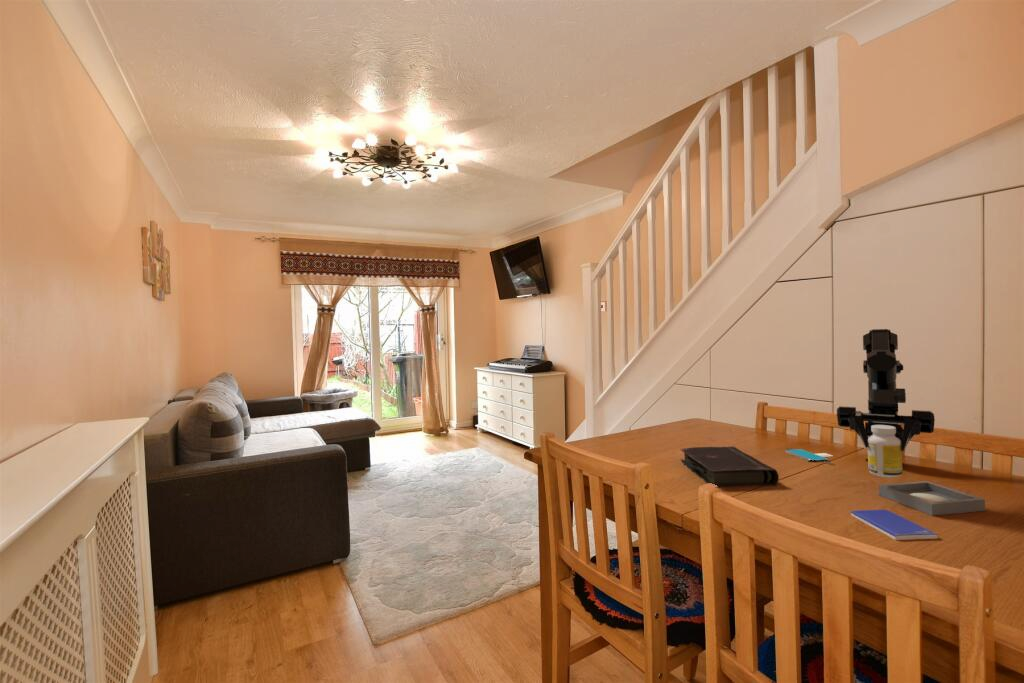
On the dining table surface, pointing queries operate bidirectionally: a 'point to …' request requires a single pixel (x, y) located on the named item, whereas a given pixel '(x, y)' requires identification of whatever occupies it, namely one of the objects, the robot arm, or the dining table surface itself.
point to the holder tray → (932, 498)
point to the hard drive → (893, 525)
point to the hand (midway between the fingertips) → (884, 448)
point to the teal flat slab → (808, 455)
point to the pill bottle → (884, 452)
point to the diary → (728, 467)
